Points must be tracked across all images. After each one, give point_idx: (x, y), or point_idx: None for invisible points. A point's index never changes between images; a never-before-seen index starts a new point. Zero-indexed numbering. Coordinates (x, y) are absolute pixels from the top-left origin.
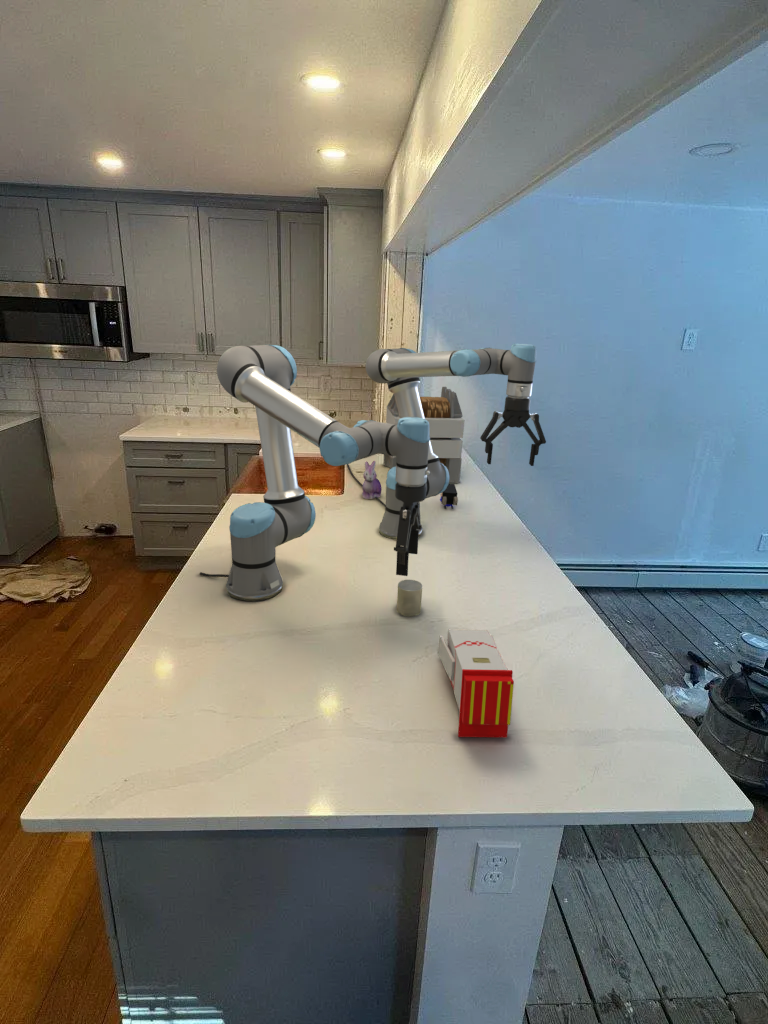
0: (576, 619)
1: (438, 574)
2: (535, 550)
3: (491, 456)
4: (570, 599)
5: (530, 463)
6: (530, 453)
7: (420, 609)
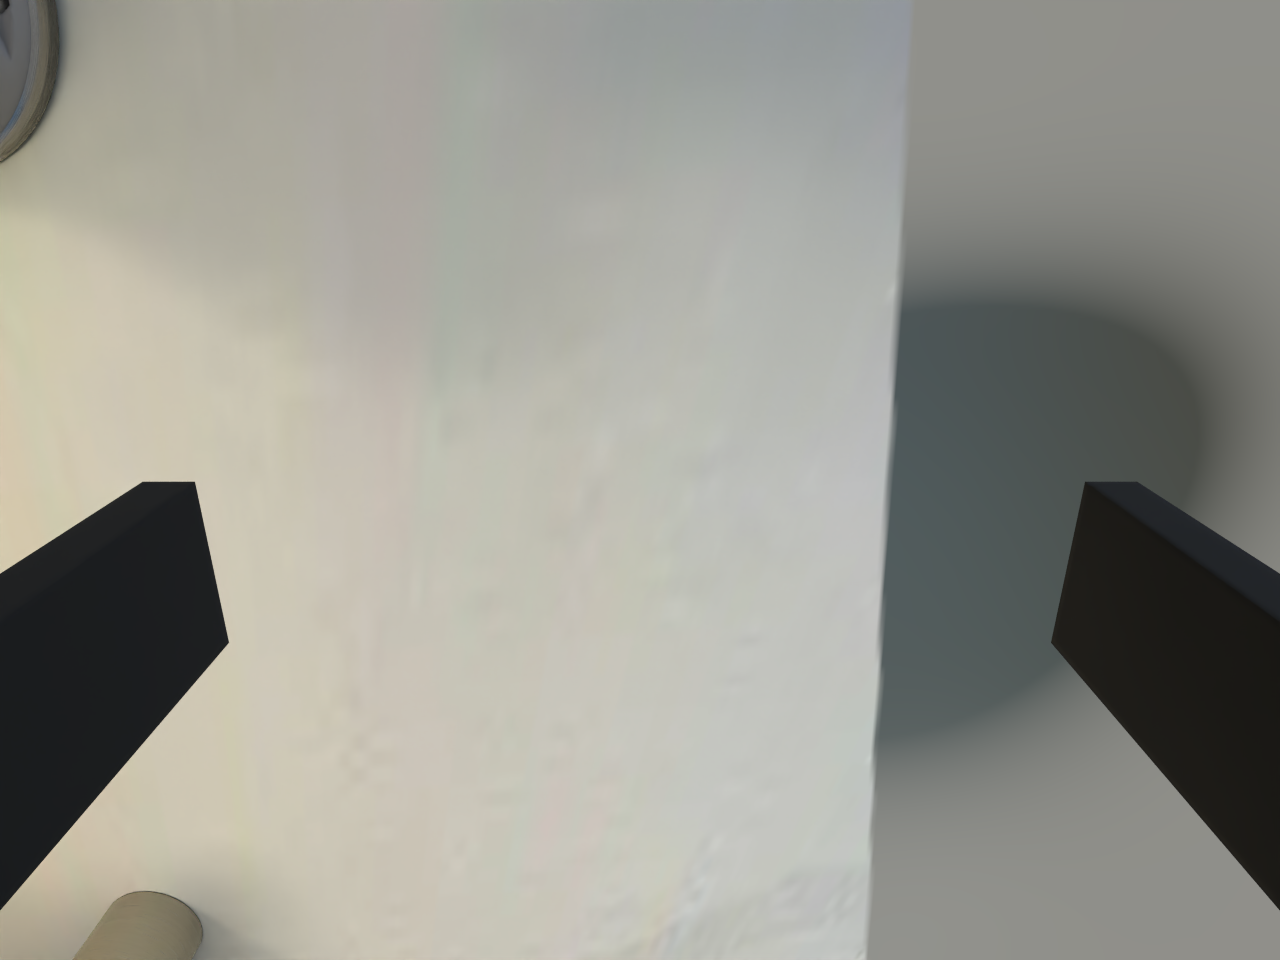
0: (804, 945)
1: (248, 643)
2: (892, 274)
3: (130, 750)
4: (847, 820)
5: (1080, 597)
6: (1247, 602)
7: (195, 948)
